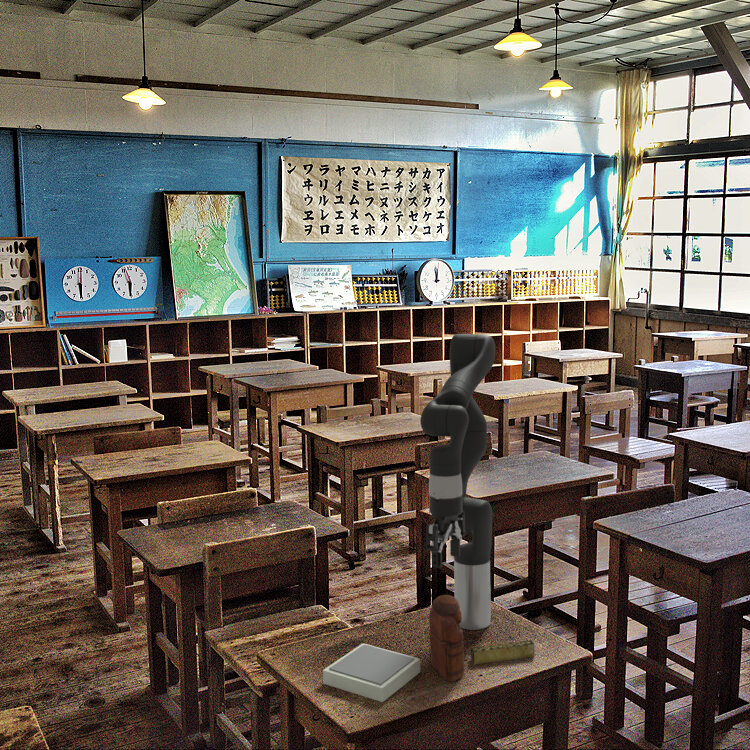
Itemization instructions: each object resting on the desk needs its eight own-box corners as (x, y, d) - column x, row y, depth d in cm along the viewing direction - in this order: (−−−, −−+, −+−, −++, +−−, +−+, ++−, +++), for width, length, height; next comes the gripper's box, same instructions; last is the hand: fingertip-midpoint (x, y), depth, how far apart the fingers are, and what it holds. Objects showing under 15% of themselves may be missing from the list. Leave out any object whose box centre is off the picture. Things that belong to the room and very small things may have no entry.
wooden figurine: (471, 679, 198) (470, 603, 195) (445, 684, 196) (444, 607, 193) (449, 657, 209) (448, 585, 206) (425, 661, 207) (423, 589, 204)
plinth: (363, 655, 211) (362, 642, 210) (420, 671, 202) (420, 657, 201) (323, 683, 197) (322, 668, 197) (382, 702, 189) (382, 686, 188)
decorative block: (531, 653, 211) (531, 639, 210) (535, 657, 208) (535, 643, 208) (470, 660, 207) (470, 646, 207) (473, 665, 205) (473, 651, 205)
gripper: (446, 483, 205) (447, 549, 207) (414, 497, 193) (416, 568, 195) (475, 487, 200) (475, 555, 203) (444, 502, 189) (445, 574, 191)
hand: (446, 561), depth 199 cm, fingers open, 8 cm apart
